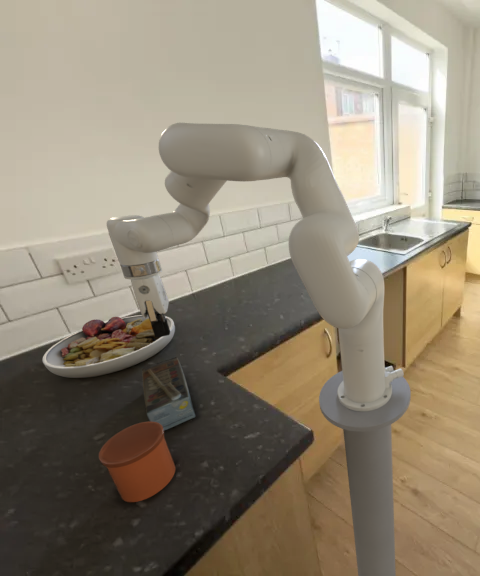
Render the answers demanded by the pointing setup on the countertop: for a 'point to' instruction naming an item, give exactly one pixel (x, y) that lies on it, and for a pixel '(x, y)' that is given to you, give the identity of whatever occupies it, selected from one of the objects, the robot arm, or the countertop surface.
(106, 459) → the terracotta crock
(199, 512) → the countertop surface
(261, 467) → the countertop surface
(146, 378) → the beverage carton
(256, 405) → the countertop surface
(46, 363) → the food platter
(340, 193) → the robot arm
